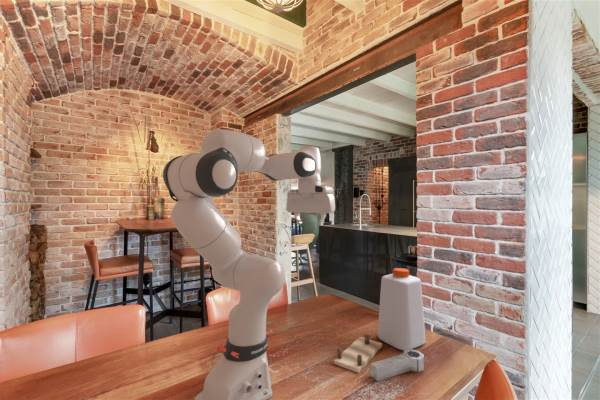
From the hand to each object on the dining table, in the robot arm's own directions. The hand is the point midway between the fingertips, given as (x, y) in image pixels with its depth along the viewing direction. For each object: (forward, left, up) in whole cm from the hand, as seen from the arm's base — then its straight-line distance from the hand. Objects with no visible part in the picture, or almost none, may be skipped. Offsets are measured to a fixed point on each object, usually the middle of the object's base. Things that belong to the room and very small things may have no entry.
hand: (309, 224), depth 111 cm
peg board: (+5, -18, -46) cm, 50 cm away
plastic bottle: (+24, -27, -46) cm, 59 cm away
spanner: (+3, -32, -46) cm, 56 cm away
